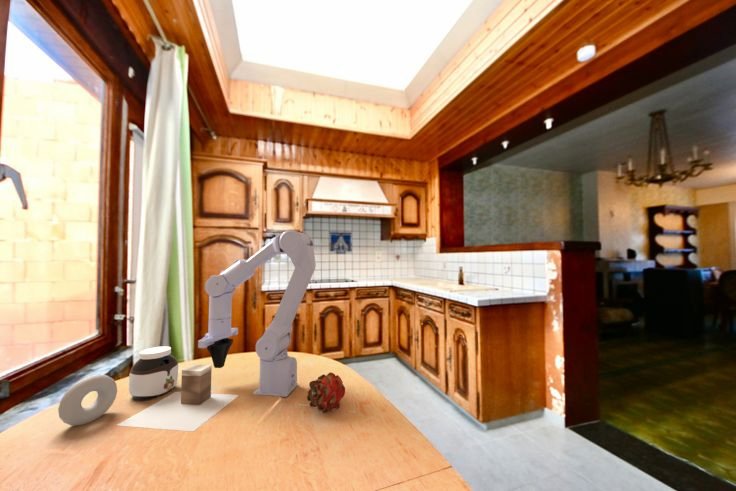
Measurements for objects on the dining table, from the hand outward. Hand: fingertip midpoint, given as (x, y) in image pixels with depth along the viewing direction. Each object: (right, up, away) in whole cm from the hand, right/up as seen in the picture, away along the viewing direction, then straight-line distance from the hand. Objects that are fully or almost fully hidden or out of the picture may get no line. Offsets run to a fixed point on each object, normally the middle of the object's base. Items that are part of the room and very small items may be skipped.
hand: (219, 367), depth 80 cm
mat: (-2, -5, -13) cm, 14 cm away
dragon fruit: (+32, -5, -11) cm, 34 cm away
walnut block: (-1, -5, -9) cm, 10 cm away
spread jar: (-16, -6, -3) cm, 18 cm away
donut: (-19, -5, -18) cm, 27 cm away
